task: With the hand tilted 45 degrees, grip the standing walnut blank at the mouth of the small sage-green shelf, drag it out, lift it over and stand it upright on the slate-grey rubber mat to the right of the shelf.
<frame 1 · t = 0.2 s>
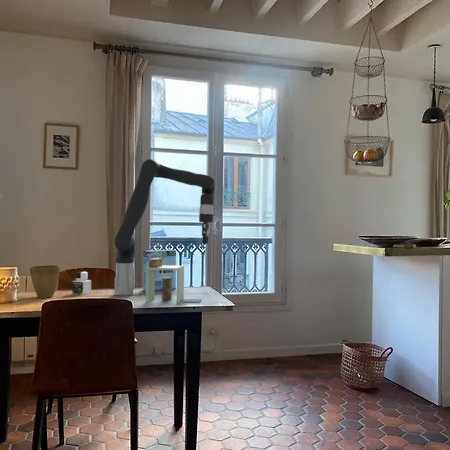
hand: (205, 243, 244), 28 cm above the table, tool pointing down, fingers open, 8 cm apart
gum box: (159, 289, 269), on the table
medicine bottle: (81, 294, 251), on the table
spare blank: (155, 266, 231), point 17 cm above the table, touching shelf
mat: (192, 301, 228), on the table
blank: (167, 299, 235), on the table
shelf: (165, 300, 231), on the table
plant pot: (44, 297, 238), on the table
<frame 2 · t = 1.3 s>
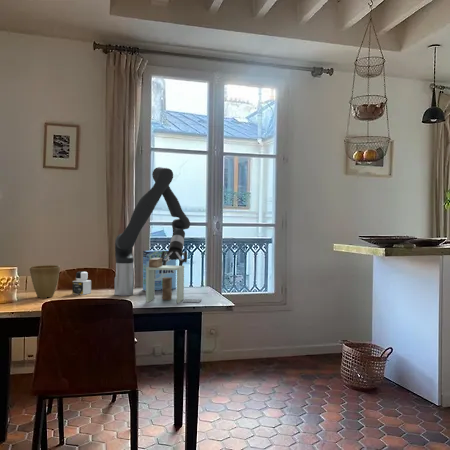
hand: (172, 267, 246), 15 cm above the table, tool tilted 45°, fingers open, 8 cm apart
nothing on the table moved.
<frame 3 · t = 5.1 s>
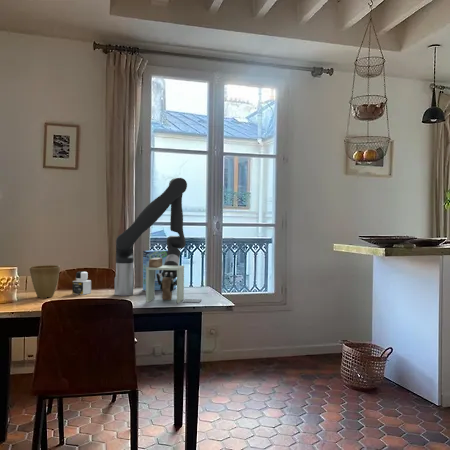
hand: (166, 290, 233), 5 cm above the table, tool tilted 45°, fingers closed on blank, 4 cm apart
blank: (167, 299, 235), on the table, touching gripper
everything else where it was.
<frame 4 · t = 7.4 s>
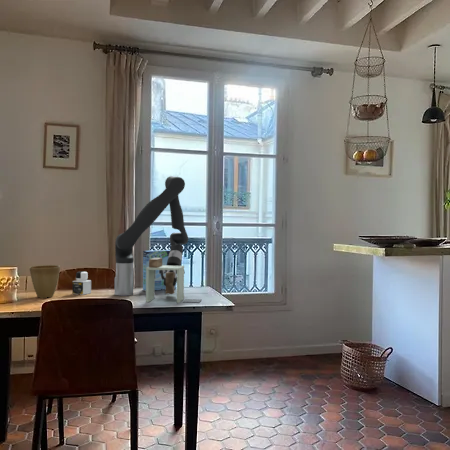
hand: (169, 285, 241), 6 cm above the table, tool tilted 45°, fingers closed on blank, 4 cm apart
blank: (170, 293, 243), point 2 cm above the table, touching gripper
everything else where it was.
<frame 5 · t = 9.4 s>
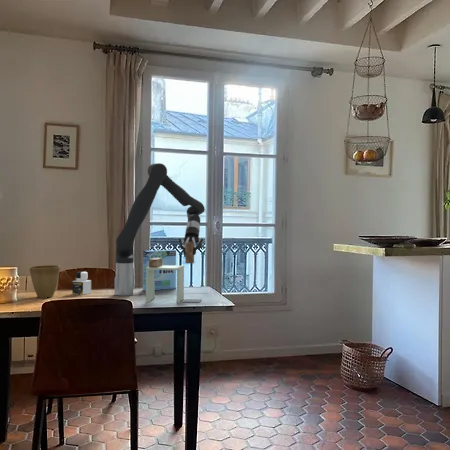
hand: (189, 254, 240), 23 cm above the table, tool tilted 45°, fingers closed on blank, 4 cm apart
blank: (189, 262, 242), point 18 cm above the table, touching gripper
everything else where it was.
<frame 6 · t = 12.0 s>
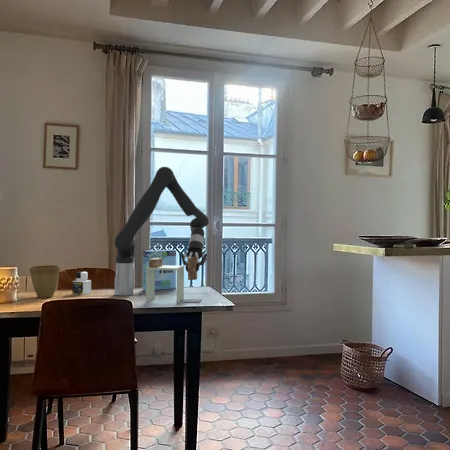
hand: (192, 270, 226), 16 cm above the table, tool tilted 45°, fingers closed on blank, 4 cm apart
blank: (192, 279, 228), point 11 cm above the table, touching gripper
everything else where it was.
when the fingers open (7 cm above the table, at t = 13.9 s): blank drops 2 cm, resting on mat.
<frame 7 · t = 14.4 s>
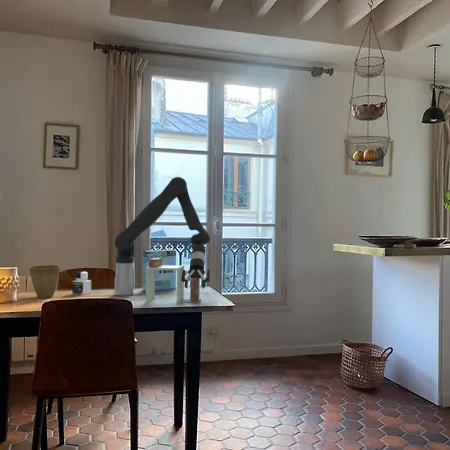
hand: (194, 287, 227), 7 cm above the table, tool tilted 45°, fingers open, 8 cm apart
blank: (194, 300, 228), resting on mat
everything else where it was.
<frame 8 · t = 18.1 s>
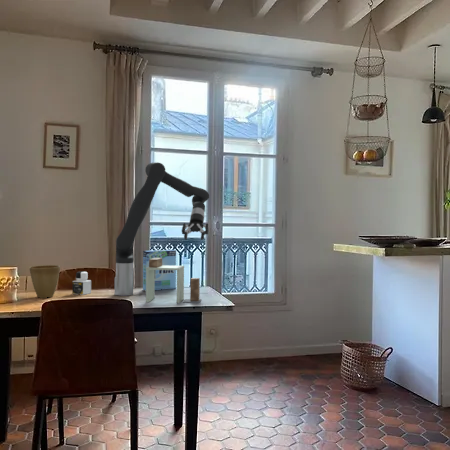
hand: (193, 238, 243), 31 cm above the table, tool tilted 45°, fingers open, 8 cm apart
nothing on the table moved.
at the end: blank inside the target area (1.3 cm from its centre), point 0.5 cm above the table; blank tilted 0°; the gripper is holding nothing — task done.
